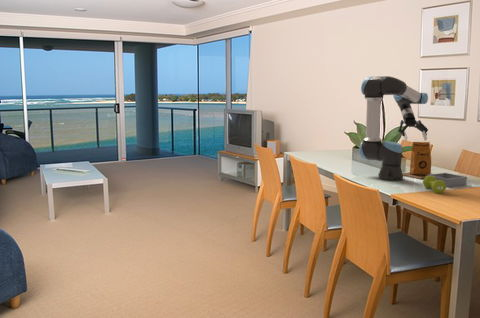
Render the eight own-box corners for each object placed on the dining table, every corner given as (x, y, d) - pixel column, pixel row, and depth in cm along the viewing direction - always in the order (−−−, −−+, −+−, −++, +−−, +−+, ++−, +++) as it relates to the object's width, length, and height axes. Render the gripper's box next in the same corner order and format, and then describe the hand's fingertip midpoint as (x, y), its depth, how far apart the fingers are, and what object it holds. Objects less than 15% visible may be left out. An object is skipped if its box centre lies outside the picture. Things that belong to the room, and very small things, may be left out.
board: (420, 179, 280) (420, 178, 280) (398, 174, 296) (398, 173, 296) (441, 177, 289) (442, 175, 289) (419, 172, 305) (419, 171, 305)
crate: (447, 187, 257) (448, 179, 256) (426, 182, 270) (426, 174, 269) (466, 185, 265) (466, 176, 264) (444, 180, 278) (445, 172, 277)
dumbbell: (421, 187, 258) (422, 175, 257) (435, 187, 258) (436, 175, 257) (432, 193, 242) (433, 180, 241) (446, 194, 242) (448, 181, 240)
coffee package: (431, 176, 285) (434, 142, 282) (411, 175, 288) (413, 142, 284) (427, 173, 295) (430, 141, 292) (408, 172, 297) (410, 140, 294)
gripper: (423, 119, 315) (431, 142, 302) (389, 119, 314) (396, 142, 301) (427, 112, 309) (436, 136, 296) (392, 112, 308) (399, 135, 295)
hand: (416, 139), depth 299 cm, fingers open, 13 cm apart
